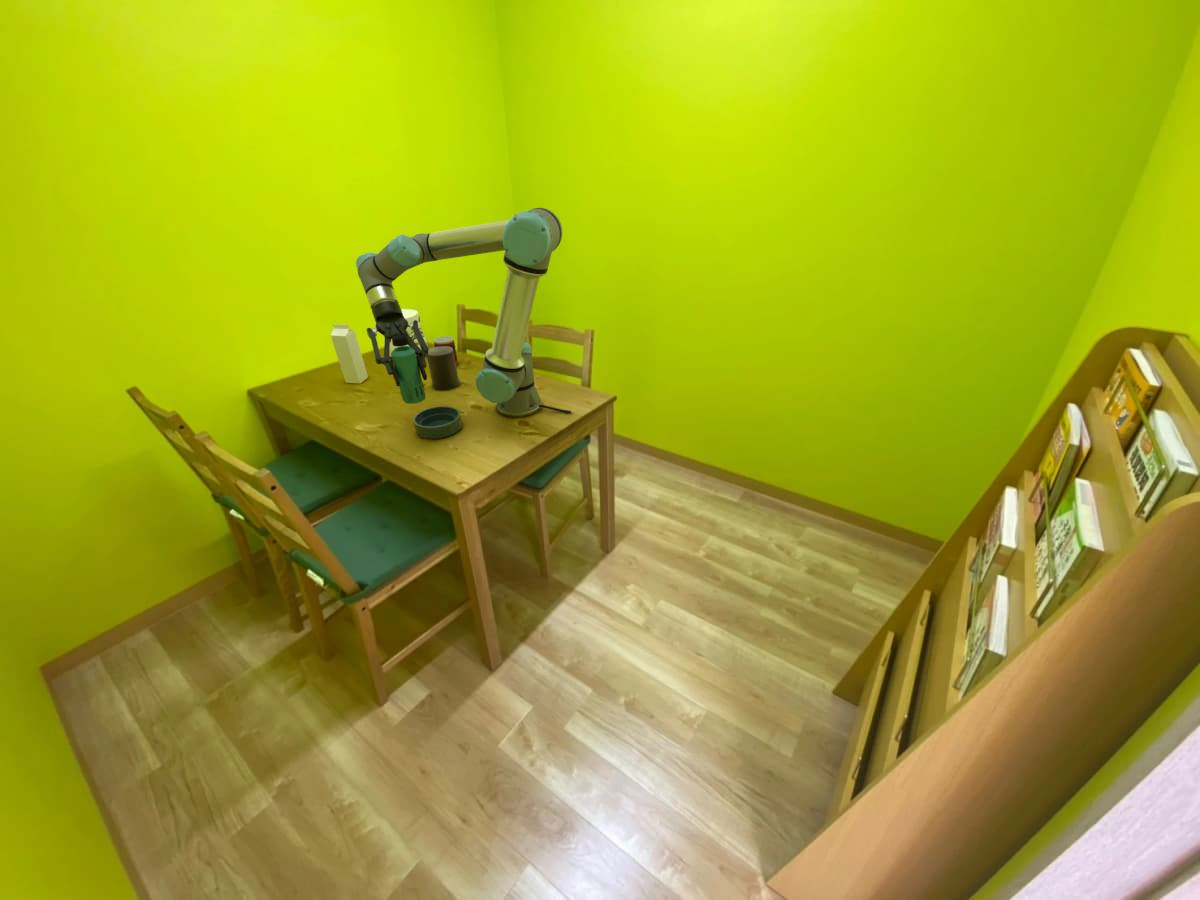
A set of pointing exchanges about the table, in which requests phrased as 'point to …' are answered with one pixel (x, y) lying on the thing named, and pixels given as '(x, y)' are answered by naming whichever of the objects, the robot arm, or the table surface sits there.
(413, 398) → the beverage bottle
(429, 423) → the dish
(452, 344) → the canned food
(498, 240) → the robot arm
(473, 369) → the table surface
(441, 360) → the pillar candle
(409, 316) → the milk container
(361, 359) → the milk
